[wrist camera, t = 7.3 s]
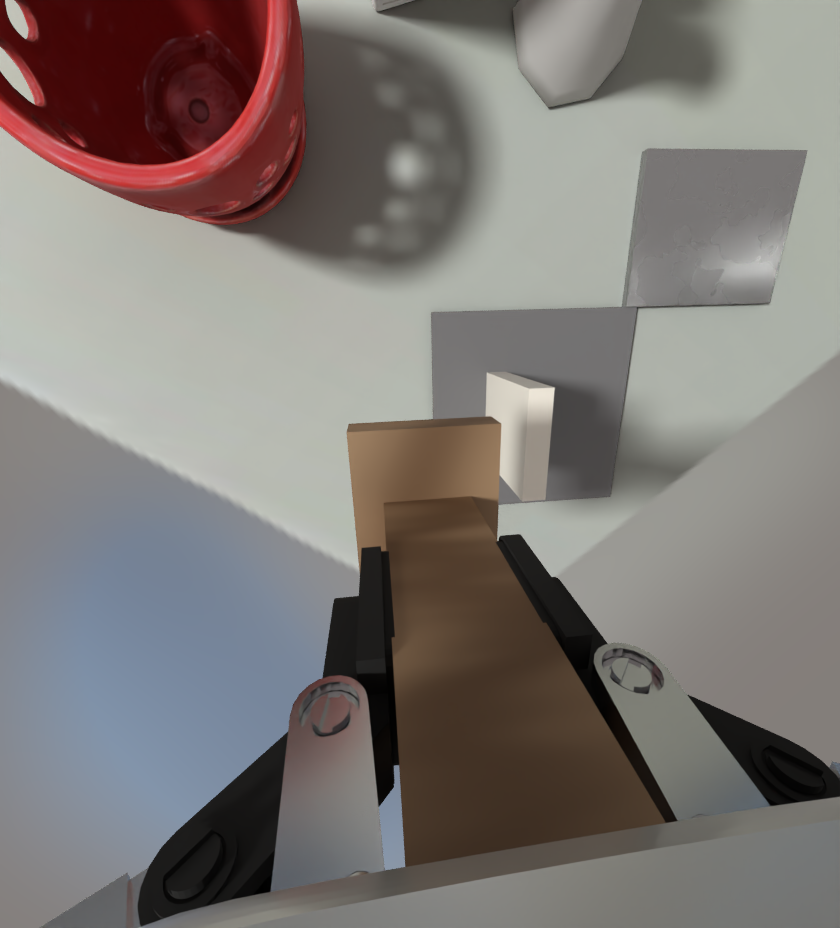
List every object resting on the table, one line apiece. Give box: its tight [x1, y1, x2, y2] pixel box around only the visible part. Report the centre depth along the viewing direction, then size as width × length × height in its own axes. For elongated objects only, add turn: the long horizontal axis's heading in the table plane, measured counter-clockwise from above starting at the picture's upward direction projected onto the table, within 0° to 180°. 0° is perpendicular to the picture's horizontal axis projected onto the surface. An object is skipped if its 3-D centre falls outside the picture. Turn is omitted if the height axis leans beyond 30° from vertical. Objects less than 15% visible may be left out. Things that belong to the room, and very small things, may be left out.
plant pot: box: [0, 0, 306, 225], centre depth 19 cm, size 13×13×12 cm
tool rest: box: [622, 149, 807, 307], centre depth 29 cm, size 12×10×1 cm
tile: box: [486, 372, 555, 502], centre depth 27 cm, size 2×7×9 cm, turn 1°
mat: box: [431, 307, 637, 505], centre depth 32 cm, size 16×16×1 cm
